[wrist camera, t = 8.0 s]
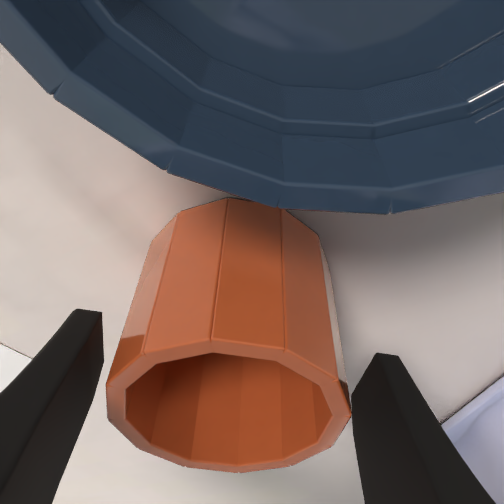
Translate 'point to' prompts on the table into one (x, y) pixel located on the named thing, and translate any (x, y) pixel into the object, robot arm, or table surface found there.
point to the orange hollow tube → (231, 344)
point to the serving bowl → (285, 92)
